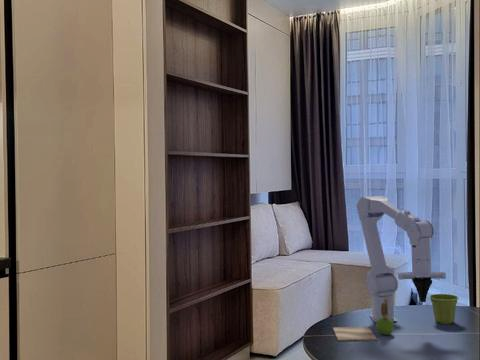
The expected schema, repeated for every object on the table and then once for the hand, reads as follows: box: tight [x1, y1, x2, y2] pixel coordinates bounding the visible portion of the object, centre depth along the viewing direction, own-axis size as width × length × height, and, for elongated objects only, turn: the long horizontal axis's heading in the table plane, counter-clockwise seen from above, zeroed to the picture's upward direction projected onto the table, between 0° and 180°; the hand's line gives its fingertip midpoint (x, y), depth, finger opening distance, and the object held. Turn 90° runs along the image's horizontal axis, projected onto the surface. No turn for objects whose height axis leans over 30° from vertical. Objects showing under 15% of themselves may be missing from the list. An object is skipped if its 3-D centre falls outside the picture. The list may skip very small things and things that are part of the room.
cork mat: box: [332, 326, 378, 342], centre depth 166 cm, size 14×12×1 cm
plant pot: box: [429, 293, 459, 325], centre depth 178 cm, size 9×9×9 cm
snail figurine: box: [375, 295, 395, 336], centre depth 165 cm, size 5×6×12 cm
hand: (422, 301), depth 165 cm, fingers closed
